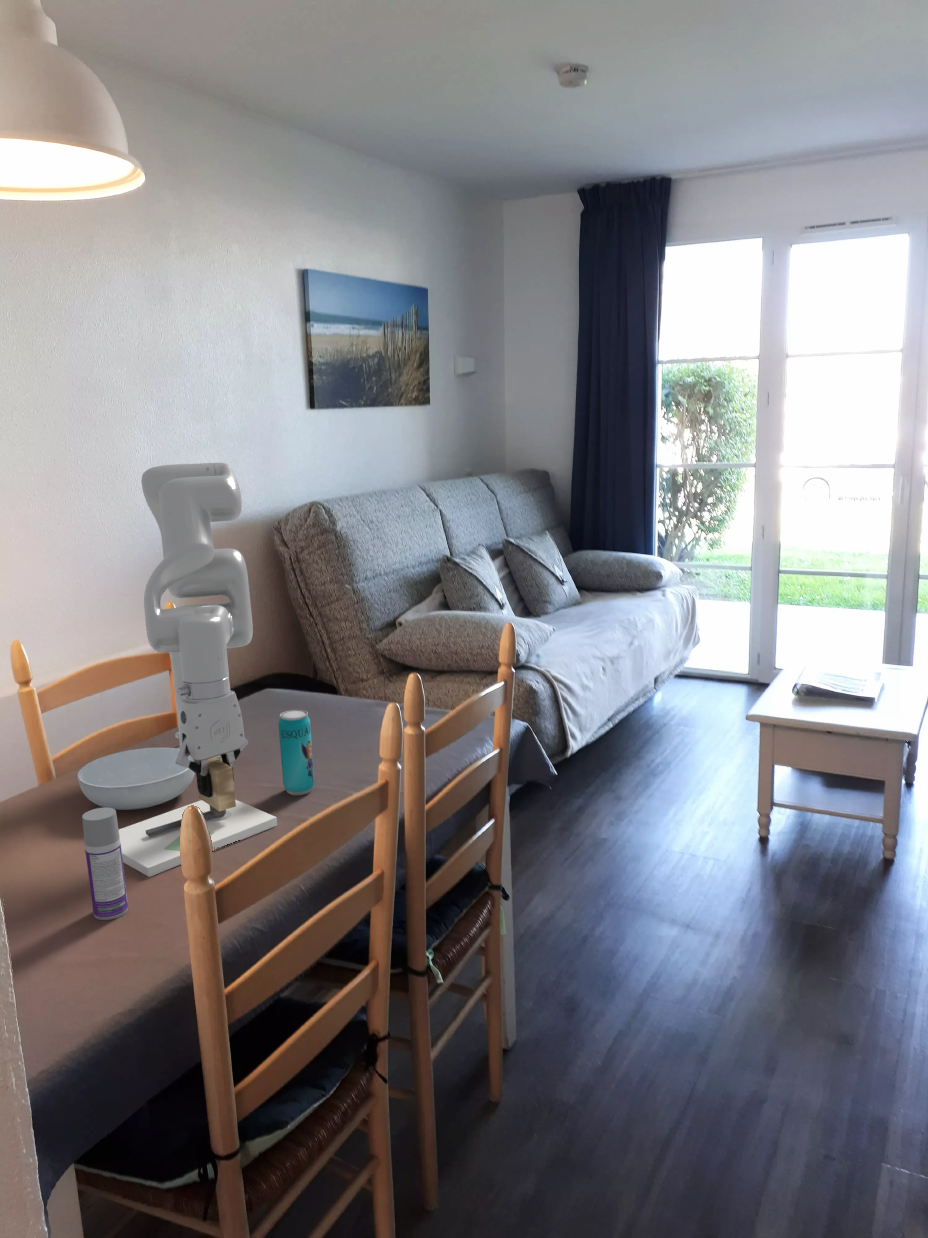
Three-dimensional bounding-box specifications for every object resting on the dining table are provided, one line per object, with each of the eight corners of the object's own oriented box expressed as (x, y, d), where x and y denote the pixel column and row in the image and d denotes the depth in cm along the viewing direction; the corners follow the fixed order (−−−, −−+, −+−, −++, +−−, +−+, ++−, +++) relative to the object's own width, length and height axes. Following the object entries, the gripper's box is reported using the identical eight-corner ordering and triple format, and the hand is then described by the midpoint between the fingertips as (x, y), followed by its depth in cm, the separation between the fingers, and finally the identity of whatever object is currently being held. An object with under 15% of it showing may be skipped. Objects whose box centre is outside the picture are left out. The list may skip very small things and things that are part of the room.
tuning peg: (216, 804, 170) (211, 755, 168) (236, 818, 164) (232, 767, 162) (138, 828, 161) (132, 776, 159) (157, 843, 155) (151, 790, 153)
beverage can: (308, 797, 176) (302, 719, 173) (279, 796, 177) (272, 718, 174) (319, 785, 182) (313, 709, 179) (290, 784, 183) (284, 708, 180)
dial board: (96, 846, 159) (95, 837, 159) (221, 801, 176) (220, 792, 176) (150, 878, 147) (149, 868, 147) (279, 826, 164) (278, 817, 164)
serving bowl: (223, 789, 182) (220, 755, 180) (135, 832, 164) (131, 794, 163) (146, 772, 192) (143, 739, 191) (56, 811, 175) (51, 775, 173)
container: (99, 905, 140) (86, 808, 137) (132, 902, 140) (120, 806, 137) (89, 921, 135) (76, 822, 132) (123, 919, 136) (111, 819, 132)
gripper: (174, 703, 153) (185, 812, 156) (261, 680, 164) (269, 782, 168) (150, 695, 158) (161, 801, 161) (236, 674, 169) (244, 772, 173)
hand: (216, 790), depth 165 cm, fingers closed on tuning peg, 3 cm apart
